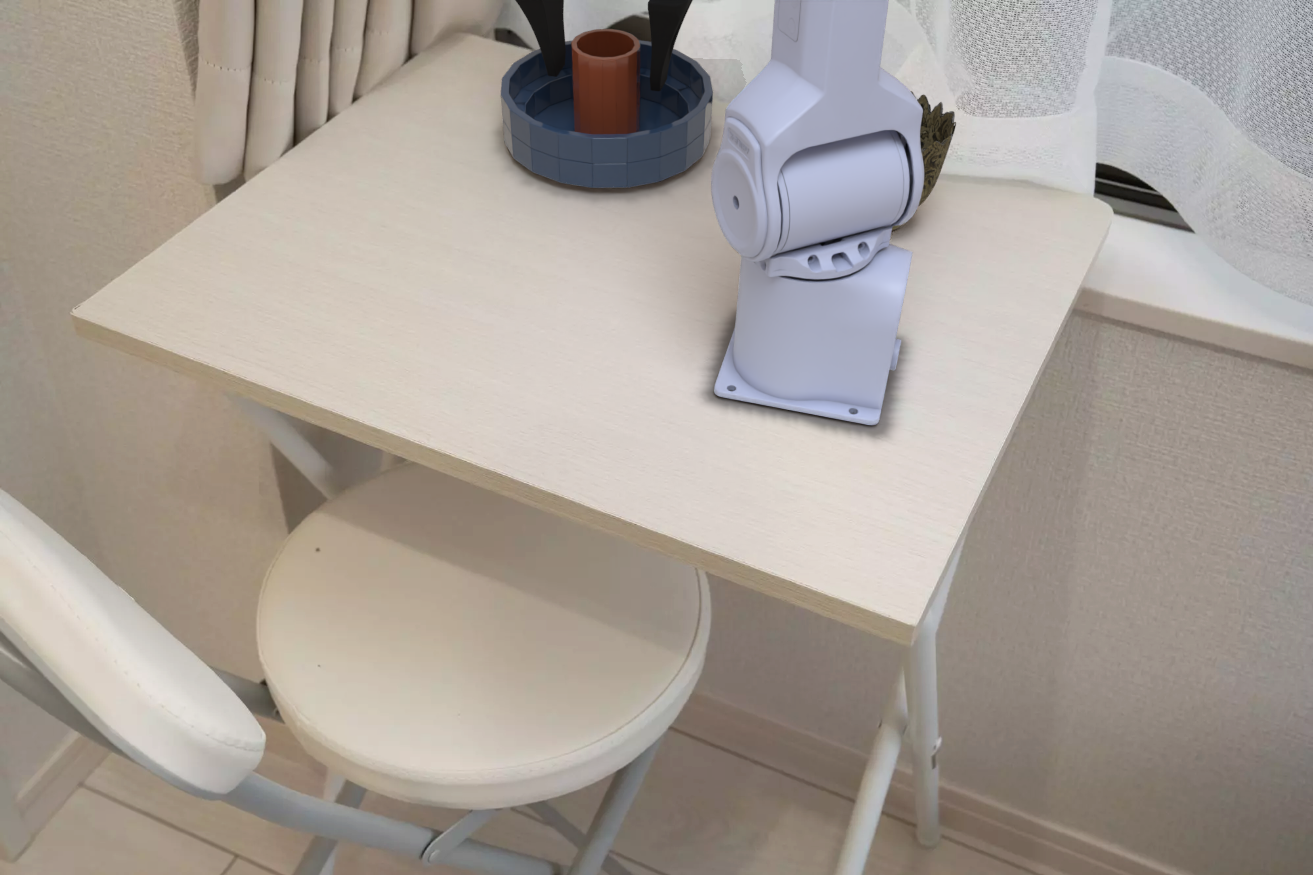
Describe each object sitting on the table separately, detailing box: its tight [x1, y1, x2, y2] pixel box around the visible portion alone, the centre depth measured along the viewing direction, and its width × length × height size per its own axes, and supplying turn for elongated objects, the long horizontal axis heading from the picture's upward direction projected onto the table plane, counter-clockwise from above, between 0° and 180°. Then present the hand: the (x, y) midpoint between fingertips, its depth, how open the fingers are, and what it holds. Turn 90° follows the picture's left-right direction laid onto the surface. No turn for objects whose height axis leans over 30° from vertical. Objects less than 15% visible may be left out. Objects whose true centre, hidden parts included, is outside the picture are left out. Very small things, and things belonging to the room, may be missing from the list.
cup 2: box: [892, 90, 957, 231], centre depth 78 cm, size 8×7×8 cm
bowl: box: [500, 39, 714, 189], centre depth 87 cm, size 15×15×4 cm
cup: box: [571, 28, 640, 134], centre depth 85 cm, size 5×5×7 cm
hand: (607, 77), depth 85 cm, fingers open, 7 cm apart
